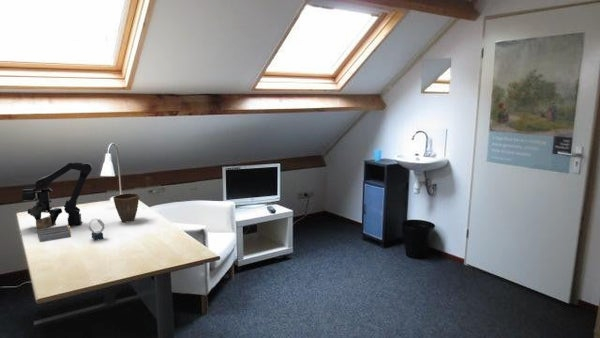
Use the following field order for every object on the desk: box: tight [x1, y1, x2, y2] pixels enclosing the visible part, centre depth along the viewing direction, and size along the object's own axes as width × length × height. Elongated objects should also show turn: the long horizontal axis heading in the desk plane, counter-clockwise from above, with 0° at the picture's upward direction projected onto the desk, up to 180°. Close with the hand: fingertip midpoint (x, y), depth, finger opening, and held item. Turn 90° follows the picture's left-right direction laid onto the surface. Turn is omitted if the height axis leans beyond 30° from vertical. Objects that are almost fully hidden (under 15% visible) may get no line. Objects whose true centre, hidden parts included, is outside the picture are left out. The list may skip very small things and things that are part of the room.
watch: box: [87, 218, 106, 241], centre depth 222 cm, size 6×8×11 cm
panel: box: [35, 215, 57, 231], centre depth 243 cm, size 12×2×6 cm, turn 171°
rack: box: [37, 224, 72, 242], centre depth 228 cm, size 15×15×4 cm
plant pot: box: [112, 193, 140, 223], centre depth 256 cm, size 15×15×16 cm
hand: (46, 224), depth 243 cm, fingers open, 9 cm apart
